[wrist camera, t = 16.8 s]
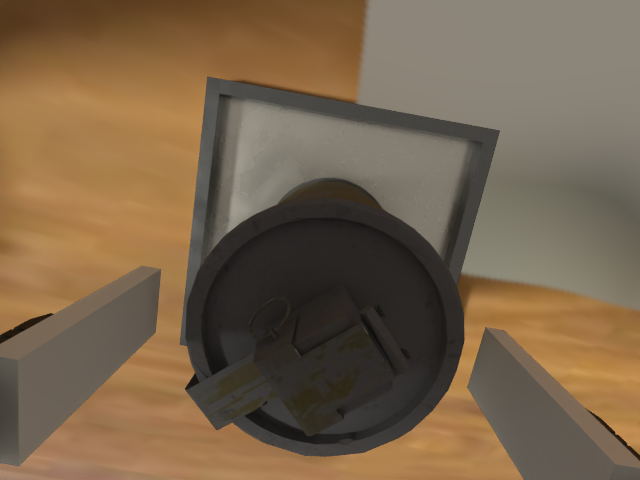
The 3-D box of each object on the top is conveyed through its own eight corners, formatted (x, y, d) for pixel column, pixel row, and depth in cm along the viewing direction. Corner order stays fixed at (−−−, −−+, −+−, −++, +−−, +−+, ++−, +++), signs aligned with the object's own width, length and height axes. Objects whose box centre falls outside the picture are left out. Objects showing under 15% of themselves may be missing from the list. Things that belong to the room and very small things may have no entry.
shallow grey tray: (188, 334, 33) (179, 344, 31) (215, 82, 28) (207, 76, 26) (422, 376, 33) (428, 389, 31) (488, 132, 28) (499, 130, 26)
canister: (348, 152, 29) (385, 130, 9) (412, 259, 30) (558, 435, 11) (238, 223, 30) (65, 334, 11) (304, 321, 32) (262, 573, 12)
